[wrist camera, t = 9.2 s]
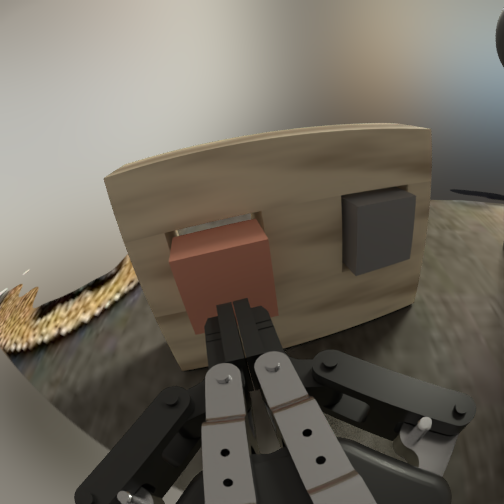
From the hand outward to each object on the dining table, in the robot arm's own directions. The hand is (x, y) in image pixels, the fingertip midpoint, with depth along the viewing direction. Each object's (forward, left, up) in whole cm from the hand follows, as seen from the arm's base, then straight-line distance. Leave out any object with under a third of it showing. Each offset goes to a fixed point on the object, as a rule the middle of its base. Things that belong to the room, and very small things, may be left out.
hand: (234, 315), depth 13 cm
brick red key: (+2, -2, -2) cm, 4 cm away
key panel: (+1, -9, -9) cm, 13 cm away
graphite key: (-4, -11, -2) cm, 12 cm away
